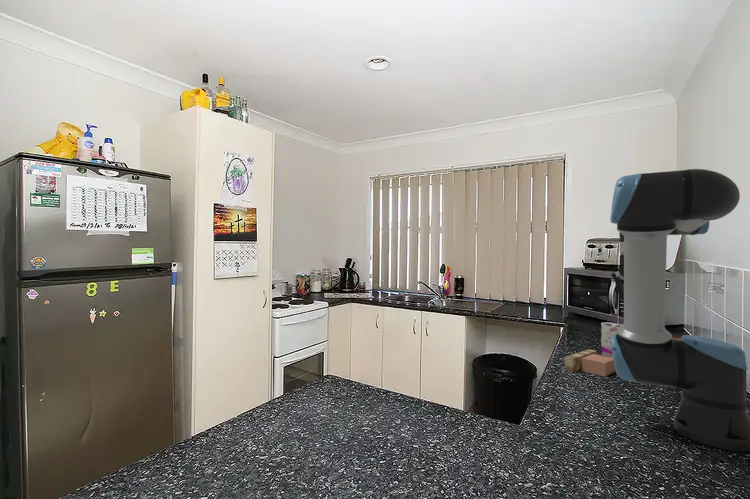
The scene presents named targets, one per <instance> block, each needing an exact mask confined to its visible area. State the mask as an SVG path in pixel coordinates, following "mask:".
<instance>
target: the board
mask: <svg viewBox="0 0 750 499" xmlns="http://www.w3.org/2000/svg"><path fill="white" fill-rule="evenodd" d="M592 354H596V355H598V353H597V350H593V349H585V350H582V351H580V352H576V353H574V354H570V355H567V356H564V371H565V372H566V371H567V372H571V373H575V372H577V371H580V370H582V358H584V357H587V356H589V355H592Z"/></svg>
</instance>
